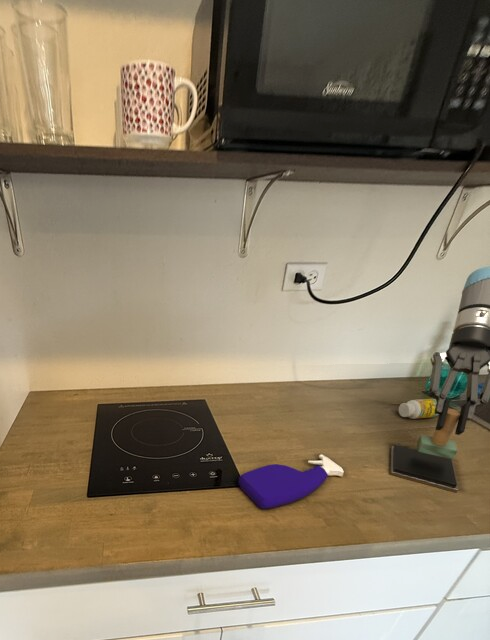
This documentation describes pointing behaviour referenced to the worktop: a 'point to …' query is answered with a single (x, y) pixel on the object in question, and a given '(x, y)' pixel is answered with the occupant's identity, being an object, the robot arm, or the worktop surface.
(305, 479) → the spray bottle
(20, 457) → the worktop surface
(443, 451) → the brush
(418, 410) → the supplement bottle
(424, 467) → the flat black square slab
